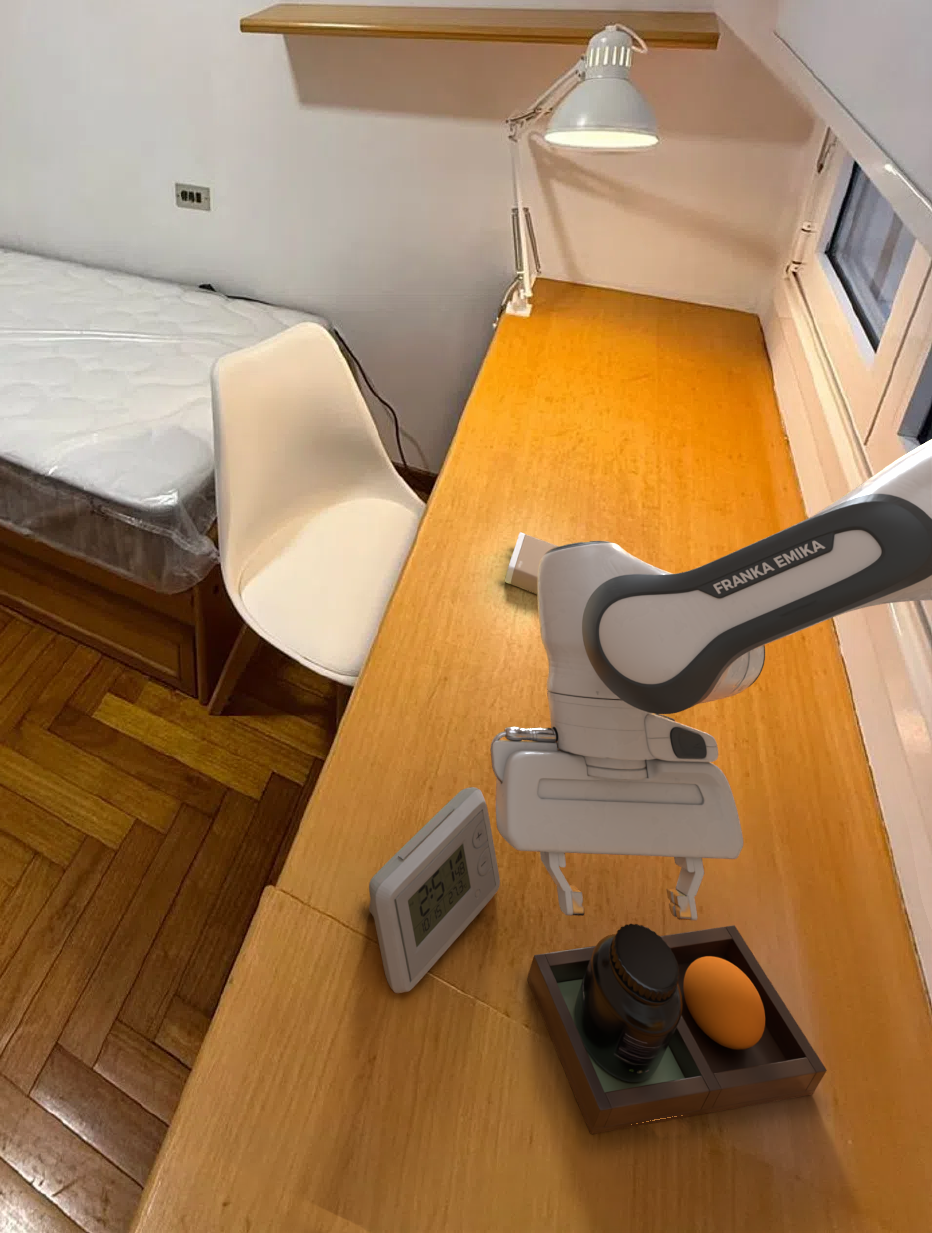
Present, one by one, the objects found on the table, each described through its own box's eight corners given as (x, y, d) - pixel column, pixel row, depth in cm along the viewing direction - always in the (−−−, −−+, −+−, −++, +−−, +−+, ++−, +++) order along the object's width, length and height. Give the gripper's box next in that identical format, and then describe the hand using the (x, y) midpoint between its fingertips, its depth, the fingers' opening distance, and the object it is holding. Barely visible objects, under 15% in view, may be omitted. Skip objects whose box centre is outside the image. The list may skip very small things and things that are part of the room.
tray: (723, 948, 78) (734, 924, 76) (813, 1094, 68) (827, 1070, 67) (526, 978, 75) (533, 954, 74) (590, 1134, 66) (600, 1110, 64)
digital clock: (390, 1009, 73) (404, 939, 69) (333, 907, 80) (342, 838, 76) (523, 920, 80) (543, 851, 76) (459, 833, 87) (473, 766, 83)
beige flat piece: (522, 525, 127) (666, 577, 118) (518, 540, 128) (660, 593, 119) (506, 573, 117) (661, 633, 108) (502, 589, 119) (655, 650, 110)
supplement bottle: (559, 986, 74) (586, 907, 69) (634, 986, 74) (665, 907, 69) (593, 1087, 68) (625, 1007, 63) (675, 1087, 68) (713, 1007, 63)
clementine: (721, 975, 75) (739, 937, 73) (770, 1059, 70) (792, 1020, 67) (661, 984, 74) (677, 946, 72) (706, 1070, 69) (725, 1031, 67)
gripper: (499, 731, 72) (517, 925, 66) (735, 739, 71) (771, 935, 66) (477, 720, 78) (493, 897, 72) (695, 728, 77) (726, 907, 72)
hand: (628, 915), depth 69 cm, fingers open, 8 cm apart
